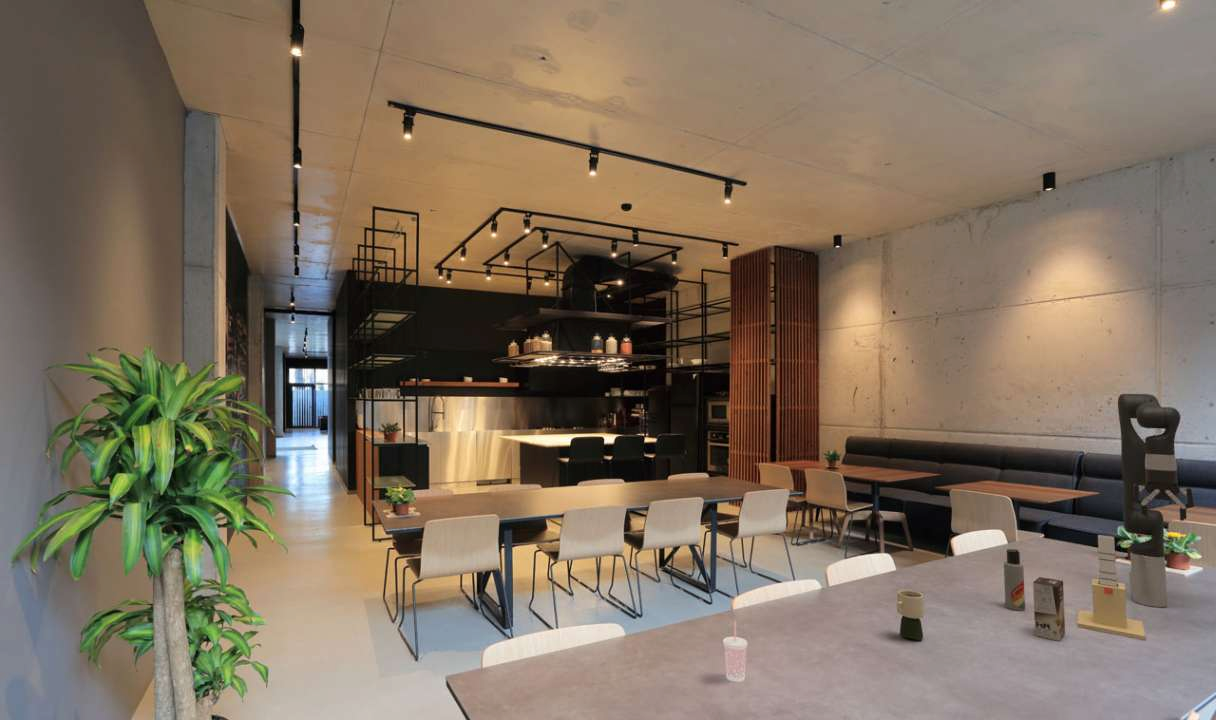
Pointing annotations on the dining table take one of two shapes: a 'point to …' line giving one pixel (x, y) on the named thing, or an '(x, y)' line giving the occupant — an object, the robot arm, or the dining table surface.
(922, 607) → the character mug
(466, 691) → the dining table surface
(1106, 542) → the column
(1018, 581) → the lotion bottle
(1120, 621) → the stand
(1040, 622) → the coffee box
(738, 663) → the beverage cup
